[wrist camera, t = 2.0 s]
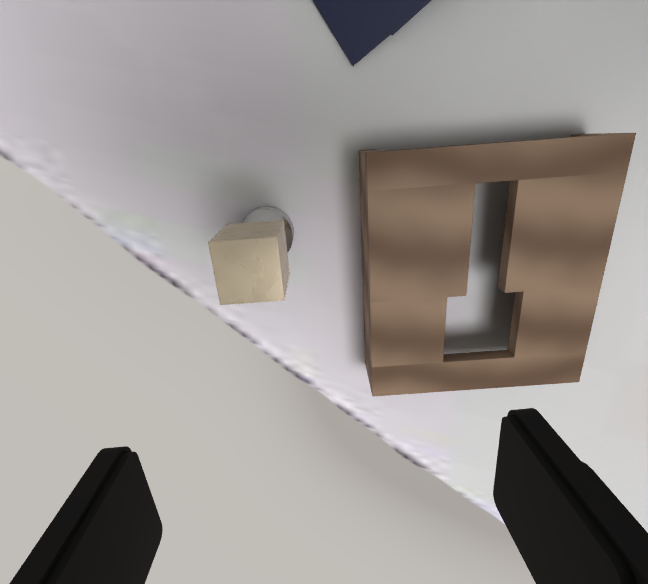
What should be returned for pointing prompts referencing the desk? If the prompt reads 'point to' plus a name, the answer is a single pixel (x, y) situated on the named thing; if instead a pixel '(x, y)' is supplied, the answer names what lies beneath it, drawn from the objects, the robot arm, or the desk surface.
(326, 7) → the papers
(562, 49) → the desk surface
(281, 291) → the peg
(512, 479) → the robot arm
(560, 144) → the keyhole board
